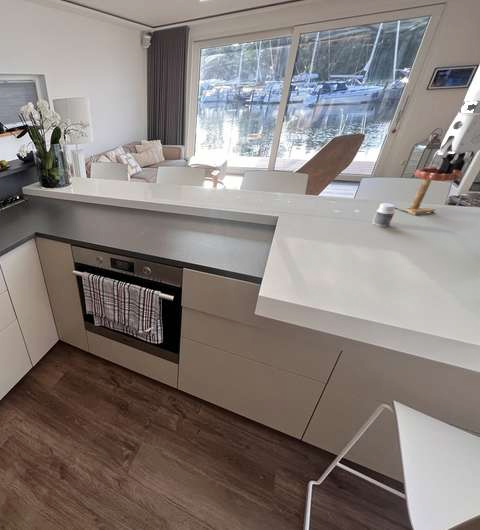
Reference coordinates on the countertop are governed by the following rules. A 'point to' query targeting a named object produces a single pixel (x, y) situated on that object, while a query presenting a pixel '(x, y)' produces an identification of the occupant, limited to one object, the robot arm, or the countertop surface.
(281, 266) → the countertop surface
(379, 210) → the pill bottle
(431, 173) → the ring
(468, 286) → the countertop surface
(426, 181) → the stand
